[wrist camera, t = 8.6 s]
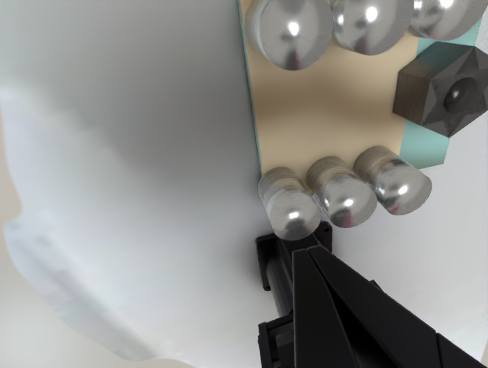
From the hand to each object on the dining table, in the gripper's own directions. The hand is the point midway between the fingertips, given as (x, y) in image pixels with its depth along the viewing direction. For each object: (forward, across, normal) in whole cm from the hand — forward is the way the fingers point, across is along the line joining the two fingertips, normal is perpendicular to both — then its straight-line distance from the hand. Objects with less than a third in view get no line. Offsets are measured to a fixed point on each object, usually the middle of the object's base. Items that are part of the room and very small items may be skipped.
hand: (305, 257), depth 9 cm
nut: (+11, -12, 0) cm, 16 cm away
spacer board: (+12, -8, 0) cm, 14 cm away
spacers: (+11, -6, 0) cm, 12 cm away
